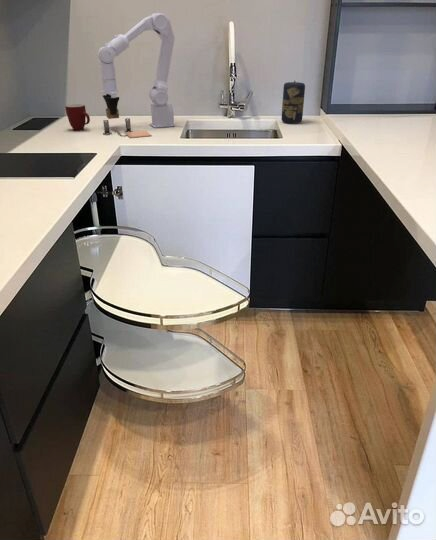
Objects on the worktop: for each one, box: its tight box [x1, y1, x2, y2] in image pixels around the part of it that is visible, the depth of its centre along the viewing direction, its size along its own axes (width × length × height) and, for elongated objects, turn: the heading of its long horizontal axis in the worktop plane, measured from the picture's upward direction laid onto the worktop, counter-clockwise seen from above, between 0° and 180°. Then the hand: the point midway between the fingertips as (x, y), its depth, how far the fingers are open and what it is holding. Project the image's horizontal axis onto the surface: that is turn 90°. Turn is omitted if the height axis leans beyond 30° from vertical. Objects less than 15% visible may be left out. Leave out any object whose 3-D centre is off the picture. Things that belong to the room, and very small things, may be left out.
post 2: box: [124, 117, 134, 132], centre depth 192 cm, size 4×4×6 cm
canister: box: [281, 80, 306, 124], centre depth 207 cm, size 10×10×18 cm
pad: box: [124, 130, 152, 139], centre depth 189 cm, size 9×9×1 cm
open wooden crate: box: [105, 107, 120, 120], centre depth 195 cm, size 4×4×4 cm
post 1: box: [102, 119, 113, 136], centre depth 189 cm, size 4×4×6 cm
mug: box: [64, 103, 91, 132], centre depth 195 cm, size 10×8×10 cm
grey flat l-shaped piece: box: [114, 129, 128, 137], centre depth 191 cm, size 4×12×1 cm, turn 22°
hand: (112, 113), depth 195 cm, fingers closed on open wooden crate, 4 cm apart
